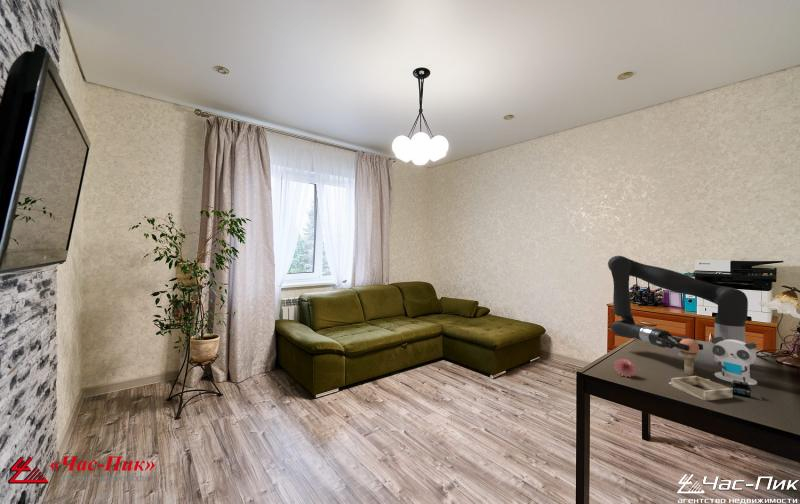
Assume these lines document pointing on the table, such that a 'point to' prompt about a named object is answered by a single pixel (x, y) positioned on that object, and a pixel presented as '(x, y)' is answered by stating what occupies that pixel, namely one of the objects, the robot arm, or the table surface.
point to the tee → (689, 362)
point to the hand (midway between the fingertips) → (695, 347)
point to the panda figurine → (734, 359)
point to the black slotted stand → (743, 393)
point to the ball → (690, 346)
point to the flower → (625, 367)
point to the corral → (712, 394)
